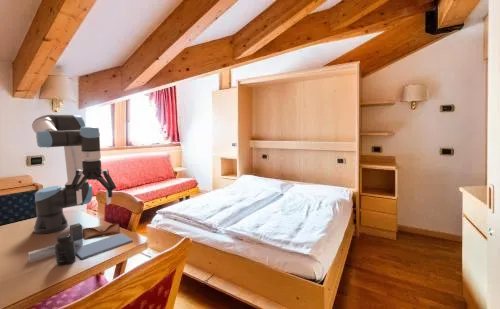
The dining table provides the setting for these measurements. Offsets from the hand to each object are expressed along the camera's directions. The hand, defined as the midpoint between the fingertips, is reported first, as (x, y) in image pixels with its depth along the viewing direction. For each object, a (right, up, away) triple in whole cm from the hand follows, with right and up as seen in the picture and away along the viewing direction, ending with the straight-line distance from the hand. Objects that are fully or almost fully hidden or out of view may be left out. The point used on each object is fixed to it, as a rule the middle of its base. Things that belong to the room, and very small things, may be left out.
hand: (94, 203), depth 123 cm
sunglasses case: (-6, -20, +17) cm, 27 cm away
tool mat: (+3, -21, +3) cm, 22 cm away
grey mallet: (-15, -22, -4) cm, 27 cm away
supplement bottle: (-6, -23, -11) cm, 26 cm away
